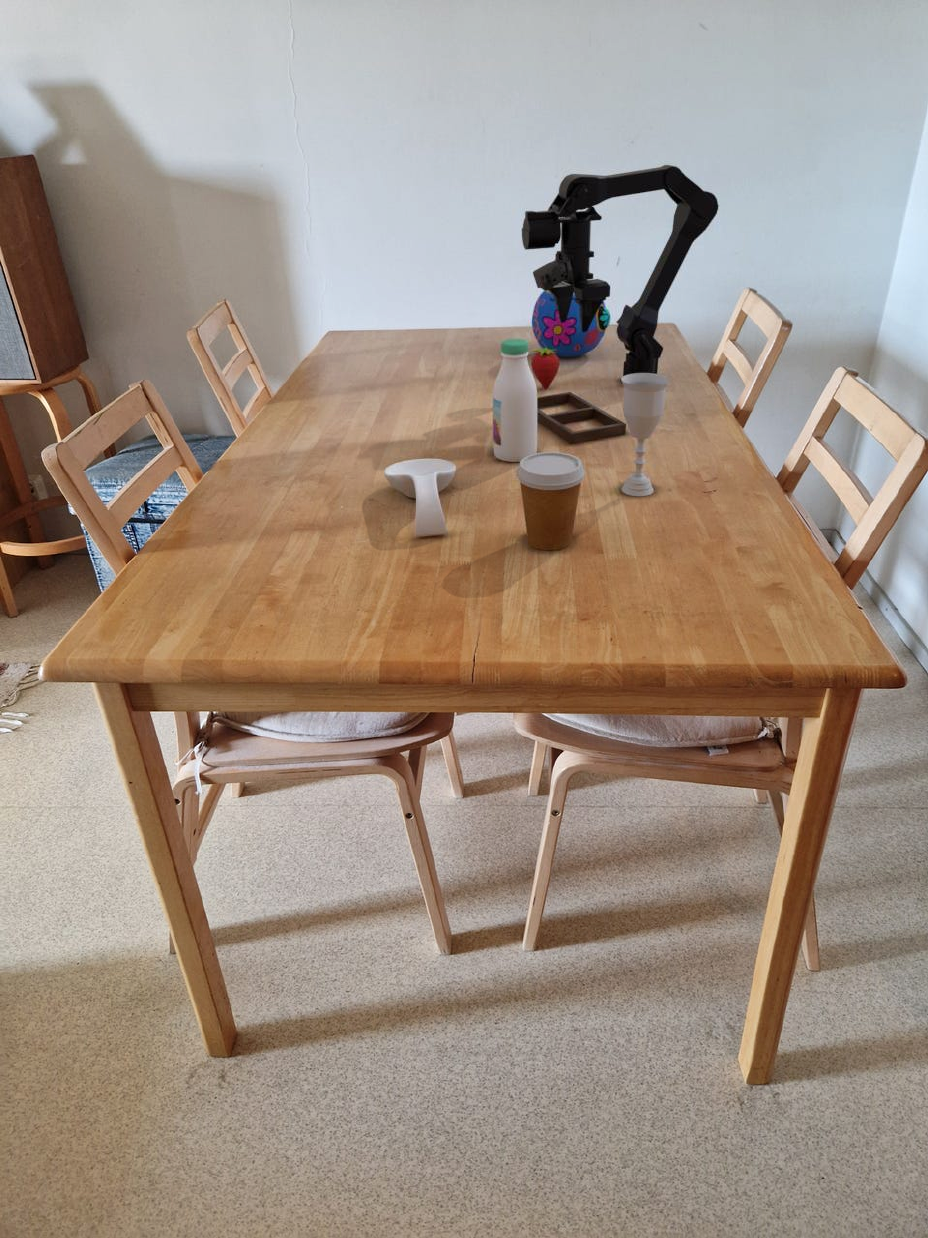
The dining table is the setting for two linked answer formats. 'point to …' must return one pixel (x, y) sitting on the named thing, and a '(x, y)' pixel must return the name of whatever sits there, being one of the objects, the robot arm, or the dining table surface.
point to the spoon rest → (423, 490)
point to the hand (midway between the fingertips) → (573, 326)
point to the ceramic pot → (566, 327)
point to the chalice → (642, 421)
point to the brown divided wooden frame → (577, 419)
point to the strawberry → (545, 366)
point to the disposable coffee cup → (550, 497)
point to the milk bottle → (514, 404)
